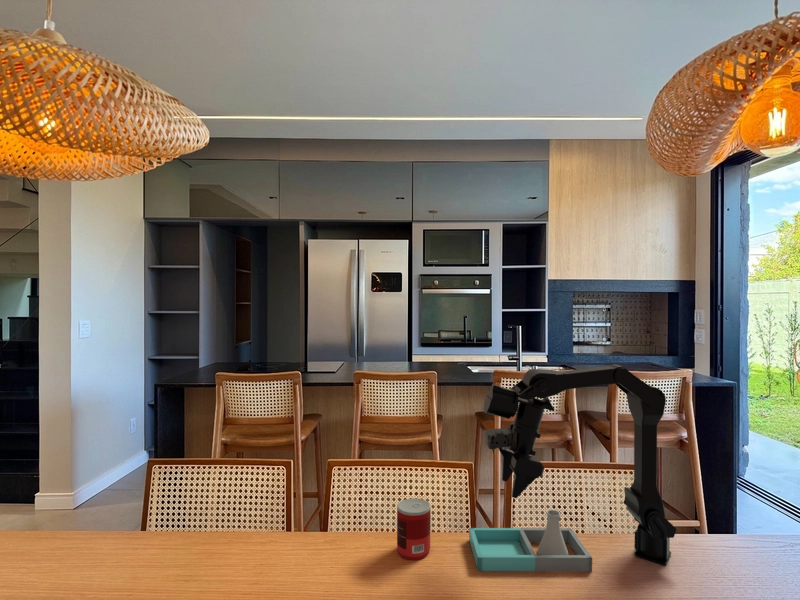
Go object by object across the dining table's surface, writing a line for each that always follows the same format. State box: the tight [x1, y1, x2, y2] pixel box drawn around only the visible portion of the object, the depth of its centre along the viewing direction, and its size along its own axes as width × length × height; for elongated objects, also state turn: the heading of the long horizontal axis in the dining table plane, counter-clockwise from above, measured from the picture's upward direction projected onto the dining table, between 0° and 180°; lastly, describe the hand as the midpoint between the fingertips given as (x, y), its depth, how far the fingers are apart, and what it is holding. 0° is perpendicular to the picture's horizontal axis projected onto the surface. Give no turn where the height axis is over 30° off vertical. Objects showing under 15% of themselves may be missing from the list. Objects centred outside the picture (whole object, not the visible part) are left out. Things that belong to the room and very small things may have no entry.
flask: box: [536, 509, 570, 555], centre depth 112 cm, size 7×7×10 cm
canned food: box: [396, 498, 431, 561], centre depth 113 cm, size 8×8×11 cm
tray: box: [468, 527, 593, 572], centre depth 112 cm, size 25×13×3 cm, turn 90°
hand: (508, 488), depth 111 cm, fingers open, 9 cm apart
